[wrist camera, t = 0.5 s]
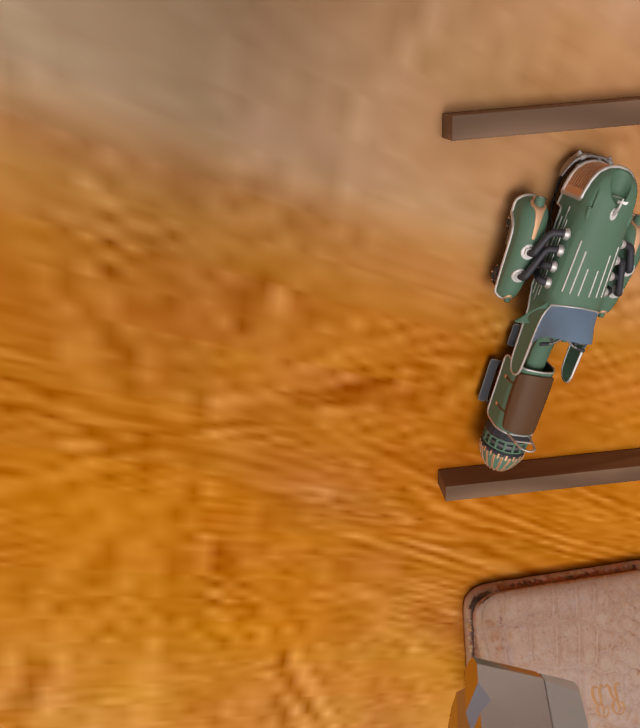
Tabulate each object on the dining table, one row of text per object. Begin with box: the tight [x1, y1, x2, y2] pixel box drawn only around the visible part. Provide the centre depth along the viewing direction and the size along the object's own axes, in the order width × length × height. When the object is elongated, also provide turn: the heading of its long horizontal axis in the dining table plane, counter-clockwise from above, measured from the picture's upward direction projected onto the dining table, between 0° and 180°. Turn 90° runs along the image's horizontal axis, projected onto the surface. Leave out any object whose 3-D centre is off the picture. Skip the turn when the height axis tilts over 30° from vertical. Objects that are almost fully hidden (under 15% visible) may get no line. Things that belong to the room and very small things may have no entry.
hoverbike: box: [478, 150, 640, 471], centre depth 44 cm, size 10×25×8 cm, turn 169°
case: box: [463, 560, 640, 728], centre depth 57 cm, size 20×21×16 cm
